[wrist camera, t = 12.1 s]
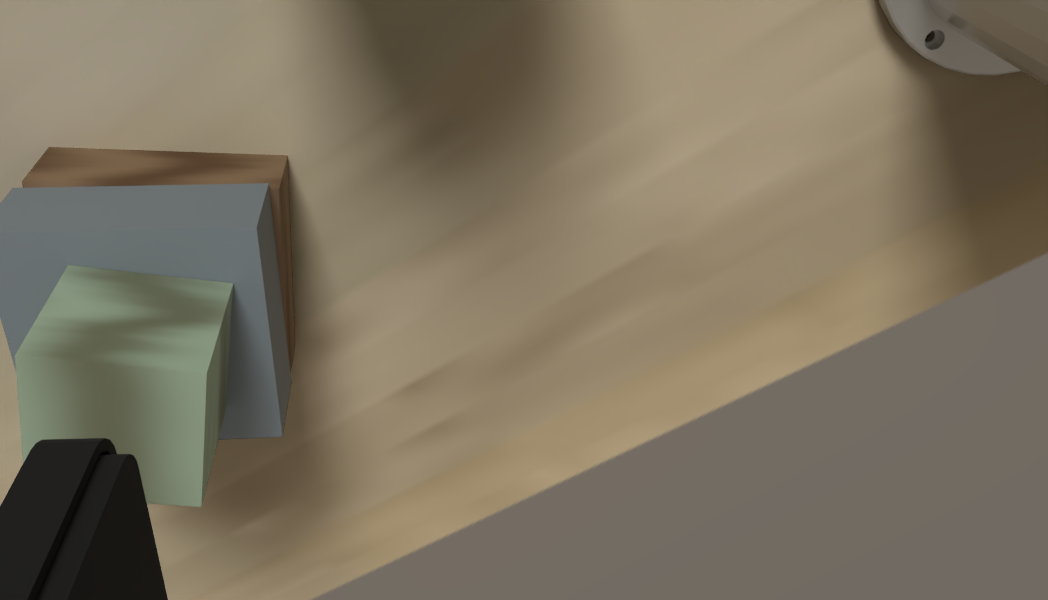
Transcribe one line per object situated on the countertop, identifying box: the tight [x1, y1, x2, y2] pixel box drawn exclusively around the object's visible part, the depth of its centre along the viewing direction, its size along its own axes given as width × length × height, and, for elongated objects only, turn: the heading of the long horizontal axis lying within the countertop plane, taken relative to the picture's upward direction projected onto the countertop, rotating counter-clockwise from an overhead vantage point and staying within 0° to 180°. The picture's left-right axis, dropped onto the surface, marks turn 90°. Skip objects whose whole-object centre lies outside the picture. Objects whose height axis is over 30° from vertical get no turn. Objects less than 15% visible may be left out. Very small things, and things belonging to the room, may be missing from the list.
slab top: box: [0, 183, 291, 440], centre depth 41 cm, size 10×10×4 cm
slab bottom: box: [22, 147, 295, 374], centre depth 45 cm, size 10×10×4 cm
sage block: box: [15, 265, 233, 507], centre depth 37 cm, size 6×6×6 cm
